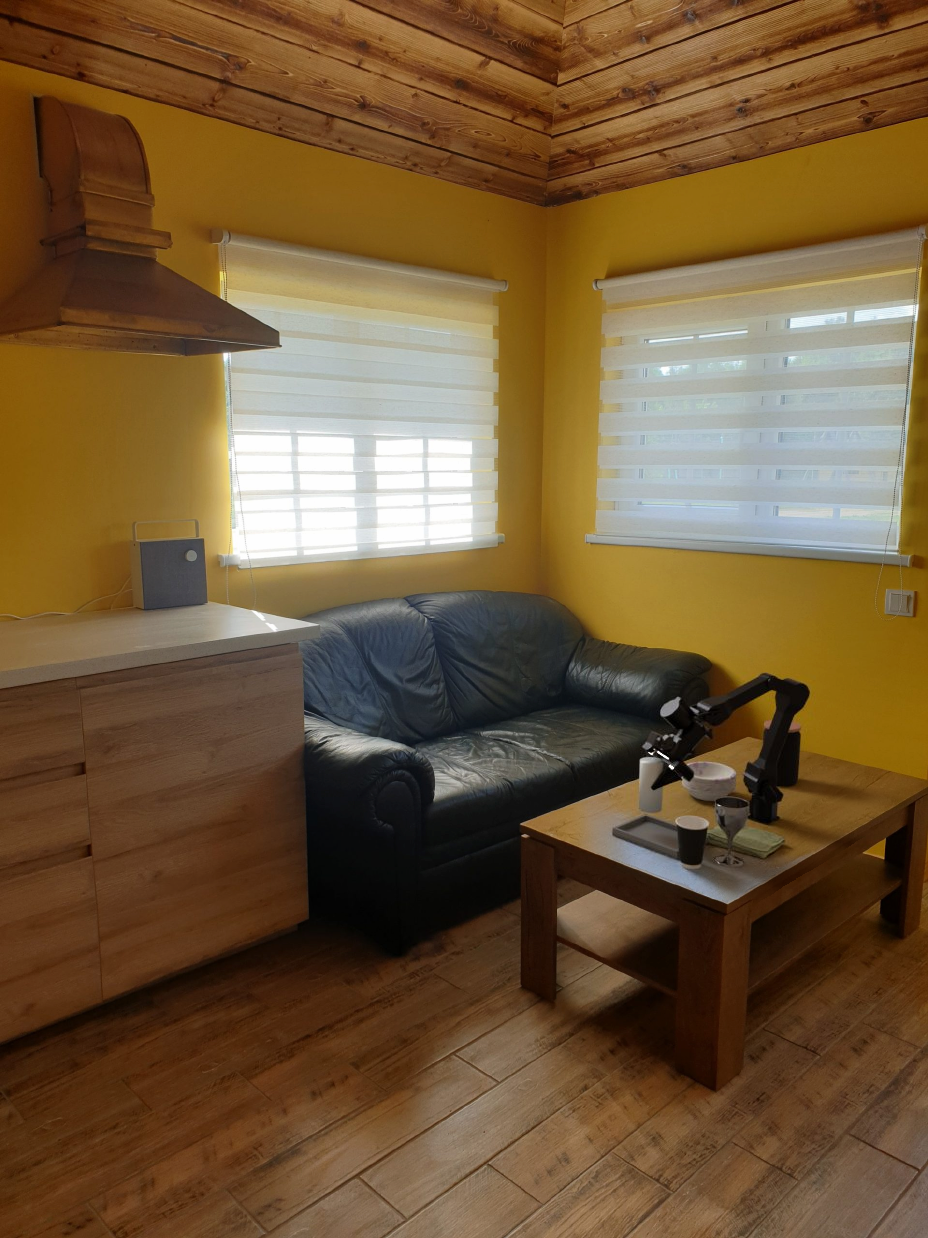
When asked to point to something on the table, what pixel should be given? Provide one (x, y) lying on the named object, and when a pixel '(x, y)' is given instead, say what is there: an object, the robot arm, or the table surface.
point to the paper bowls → (710, 780)
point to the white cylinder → (648, 774)
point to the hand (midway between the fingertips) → (646, 785)
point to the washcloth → (747, 841)
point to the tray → (651, 834)
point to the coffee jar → (787, 756)
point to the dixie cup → (691, 840)
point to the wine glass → (731, 825)
